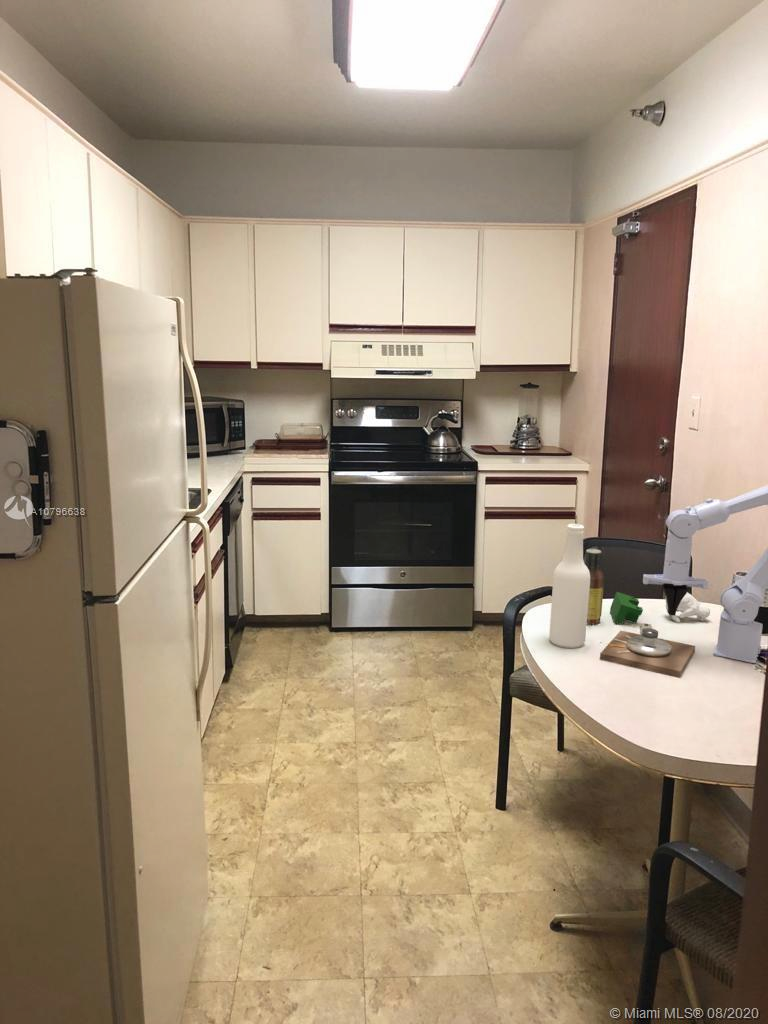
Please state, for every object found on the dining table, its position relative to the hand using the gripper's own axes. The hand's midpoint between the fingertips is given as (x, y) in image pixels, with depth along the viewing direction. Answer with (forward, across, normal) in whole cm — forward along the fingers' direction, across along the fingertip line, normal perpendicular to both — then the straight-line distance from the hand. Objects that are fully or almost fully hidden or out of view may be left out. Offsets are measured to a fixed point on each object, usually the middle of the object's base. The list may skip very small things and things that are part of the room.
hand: (671, 613), depth 183 cm
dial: (+7, -5, -5) cm, 10 cm away
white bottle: (+9, -24, -2) cm, 26 cm away
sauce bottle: (+9, -18, +15) cm, 25 cm away
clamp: (+9, -8, +19) cm, 23 cm away
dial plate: (+9, -5, -6) cm, 12 cm away
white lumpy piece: (+9, +8, +23) cm, 26 cm away
